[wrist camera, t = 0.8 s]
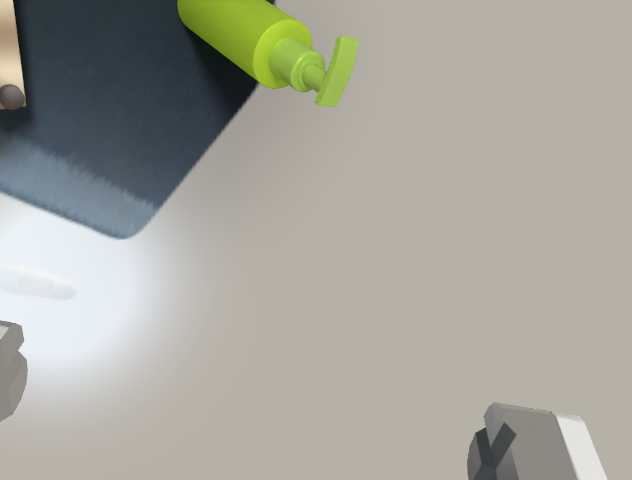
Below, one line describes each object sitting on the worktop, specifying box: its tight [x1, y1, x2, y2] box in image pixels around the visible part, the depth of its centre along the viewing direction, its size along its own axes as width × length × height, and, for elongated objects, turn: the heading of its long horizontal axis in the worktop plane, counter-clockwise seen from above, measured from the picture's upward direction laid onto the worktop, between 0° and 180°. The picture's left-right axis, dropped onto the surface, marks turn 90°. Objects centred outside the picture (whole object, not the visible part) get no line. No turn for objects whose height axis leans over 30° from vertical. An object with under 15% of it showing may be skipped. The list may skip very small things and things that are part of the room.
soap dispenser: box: [178, 0, 359, 107], centre depth 51 cm, size 6×7×20 cm
